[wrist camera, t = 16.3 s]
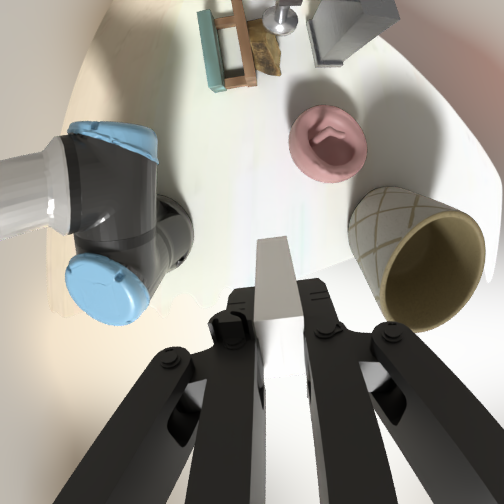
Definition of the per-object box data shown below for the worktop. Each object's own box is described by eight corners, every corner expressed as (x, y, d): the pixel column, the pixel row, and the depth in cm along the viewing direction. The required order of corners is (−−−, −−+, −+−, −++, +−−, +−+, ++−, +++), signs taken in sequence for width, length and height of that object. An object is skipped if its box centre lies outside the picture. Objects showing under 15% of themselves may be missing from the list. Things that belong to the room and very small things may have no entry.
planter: (359, 165, 45) (415, 189, 26) (437, 197, 46) (501, 233, 28) (327, 260, 52) (356, 326, 34) (404, 279, 54) (448, 337, 35)
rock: (234, 9, 31) (216, 52, 33) (276, -5, 26) (259, 39, 27) (274, 40, 39) (261, 82, 41) (314, 33, 34) (303, 77, 36)
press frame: (273, 70, 38) (285, 16, 17) (265, 26, 35) (267, -48, 13) (340, 67, 37) (401, 23, 16) (330, 23, 34) (377, -40, 12)
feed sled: (215, 92, 40) (205, 85, 33) (204, 24, 34) (194, 7, 27) (257, 85, 40) (256, 76, 32) (244, 17, 34) (241, -2, 27)
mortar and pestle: (363, 128, 42) (392, 129, 31) (335, 187, 46) (356, 204, 36) (302, 96, 40) (315, 85, 30) (273, 158, 45) (278, 166, 34)
